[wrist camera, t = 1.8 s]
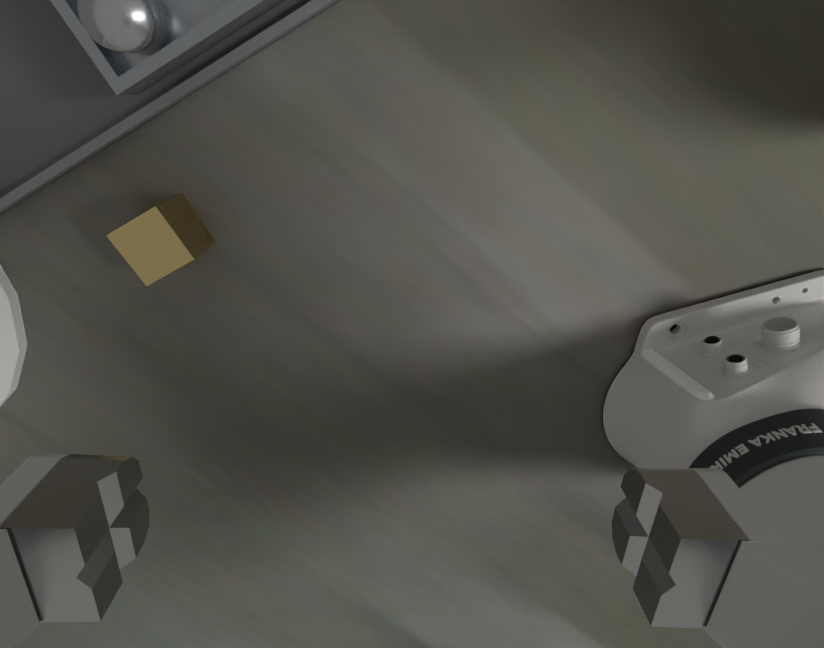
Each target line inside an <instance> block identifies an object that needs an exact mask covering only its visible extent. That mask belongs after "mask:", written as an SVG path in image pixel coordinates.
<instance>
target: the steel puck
mask: <svg viewBox="0 0 824 648" xmlns="http://www.w3.org/2000/svg"><path fill="white" fill-rule="evenodd" d="M78 13H79V17H80V20H81V22H82V24H83V26H84V28H85V30H86V31H87V33H88V34H89V35H90V36H91V37H92V39H94V40H95V41H96V42H97V43H98V44H100V45H101V46H103V47H105V48H108V49H111V50H115V51H122V52H129V53H135V54H151V53H154V52H156V51H158V50H159V49H160V48H161V47H162V46H163V45H164V43H165V41H166V39H167V36H168V29H169V26H168V18H167V15H166V12H165V10H164V8H163V6H162V4H161V3H160V2H159V0H78Z"/></svg>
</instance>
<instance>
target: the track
mask: <svg viewBox="0 0 824 648" xmlns="http://www.w3.org/2000/svg"><path fill="white" fill-rule="evenodd" d="M339 1H341V0H285V1H284V2H282V3H281V4H279V5H278V6H276V7H274V8H273V9H271V10H270V11H268V12H267V13H265V14H264V15H262V16H260V17H259V18H257V19H256V20H254V21H253V22H251V23H250V24H248V25H246V26H245V27H243V28H242V29H240V30H239V31H237V32H236V33H234V34H232V35H231V36H229V37H228V38H226V39H225V40H223V41H221V42H220V43H218V44H217V45H215V46H214V47H212V48H211V49H209V50H207V51H206V52H204V53H203V54H201V55H200V56H198V57H197V58H195V59H193V60H192V61H190V62H189V63H187V64H186V65H184V66H183V67H181V68H179V69H178V70H176V71H175V72H173V73H172V74H170V75H168V76H167V77H165V78H164V79H162V80H161V81H159V82H158V83H156V84H154V85H153V86H151V87H150V88H148V89H147V90H145V91H144V92H142V93H140V94H139V95H116V94H115V92H114V91H113V89H112V88H111V86H110V85H109V84H108V82H107V81H106V79H105V78H104V76H103V75H102V74H101V72H100V71H99V69H98V68H97V66H96V65H95V64H94V62H93V61H92V59H91V58H90V56H89V55H88V54H87V52H86V51H85V49H84V48H83V47H82V45H81V44H80V42H79V41H78V39H77V38H76V37H75V35H74V34H73V32H72V31H71V29H70V28H69V27H68V25H67V24H66V22H65V21H64V19H63V18H62V17H61V15H60V14H59V12H58V11H57V9H56V8H55V7H54V5H53V4H52V2H51V1H50V0H0V214H2V213H3V212H5V211H7V210H8V209H10V208H11V207H13V206H15V205H16V204H18V203H19V202H21V201H23V200H24V199H26V198H27V197H29V196H30V195H32V194H34V193H35V192H37V191H38V190H40V189H42V188H43V187H45V186H46V185H48V184H50V183H51V182H53V181H54V180H56V179H58V178H59V177H61V176H62V175H64V174H65V173H67V172H69V171H70V170H72V169H73V168H75V167H77V166H78V165H80V164H81V163H83V162H85V161H86V160H88V159H89V158H91V157H93V156H94V155H96V154H97V153H99V152H100V151H102V150H104V149H105V148H107V147H108V146H110V145H112V144H113V143H115V142H116V141H118V140H120V139H121V138H123V137H124V136H126V135H128V134H129V133H131V132H132V131H134V130H135V129H137V128H139V127H140V126H142V125H143V124H145V123H147V122H148V121H150V120H151V119H153V118H155V117H156V116H158V115H159V114H161V113H163V112H164V111H166V110H167V109H169V108H170V107H172V106H174V105H175V104H177V103H178V102H180V101H182V100H183V99H185V98H186V97H188V96H190V95H191V94H193V93H194V92H196V91H198V90H199V89H201V88H202V87H204V86H205V85H207V84H209V83H210V82H212V81H213V80H215V79H217V78H218V77H220V76H221V75H223V74H225V73H226V72H228V71H229V70H231V69H233V68H234V67H236V66H237V65H239V64H240V63H242V62H244V61H245V60H247V59H248V58H250V57H252V56H253V55H255V54H256V53H258V52H260V51H261V50H263V49H264V48H266V47H267V46H269V45H271V44H272V43H274V42H275V41H277V40H279V39H280V38H282V37H283V36H285V35H287V34H288V33H290V32H291V31H293V30H295V29H296V28H298V27H299V26H301V25H302V24H304V23H306V22H307V21H309V20H310V19H312V18H314V17H315V16H317V15H318V14H320V13H322V12H323V11H325V10H326V9H328V8H330V7H331V6H333V5H334V4H336V3H337V2H339Z"/></svg>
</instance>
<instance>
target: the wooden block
mask: <svg viewBox="0 0 824 648" xmlns="http://www.w3.org/2000/svg"><path fill="white" fill-rule="evenodd" d="M106 236H107V237H108V238H109V240H110V241H111V242H112V243H113V245H114V246H115V247H116V249H117V250H118V251H119V252H120V254H121V255H122V256H123V257H124V259H125V260H126V261H127V262H128V264H129V265H130V266H131V267H132V269H133V270H134V271H135V273H136V274H137V275H138V276H139V278H140V279H141V280H142V281H143V283H144V284H145V285H146V286H148V285H150V284H152V283H153V282H155V281H157V280H159V279H161V278H162V277H164V276H166V275H168V274H169V273H171V272H173V271H175V270H176V269H178V268H180V267H182V266H183V265H185V264H187V263H189V262H191V261H192V260H194V259H195V258H197V257H198V256H199V255H200V254H201V253H203V252H204V251H205V250H206V249H207V248H209V247H210V246H211V245H212V244H213V243H215V240H214V239H213V238H212V236H211V235H210V233H209V232H208V231H207V229H206V228H205V226H204V225H203V224H202V222H201V221H200V219H199V218H198V216H197V215H196V214H195V212H194V211H193V209H192V208H191V207H190V205H189V204H188V202H187V201H186V199H185V198H184V197H183V195H182V194H180V195H178V196H176V197H173V198H171V199H169V200H167V201H165V202H163V203H161V204H159V205H157V206H155V207H153V208H151V209H150V210H148V211H146V212H145V213H143V214H141V215H140V216H138V217H136V218H135V219H133V220H131V221H130V222H128V223H126V224H125V225H123V226H121V227H120V228H118V229H116V230H114V231H113V232H111V233H109V234H108V235H106Z"/></svg>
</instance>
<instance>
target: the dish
mask: <svg viewBox="0 0 824 648" xmlns="http://www.w3.org/2000/svg"><path fill="white" fill-rule="evenodd" d="M27 346H28V345H27V340H26V335H25V329H24V324H23V319H22V314H21V309H20V303H19V298H18V294H17V292H16V291H15V289H14V287H13V285H12V284H11V282H10V280H9V279H8V277H7V275H6V273H5V272H4V270H3V268H2V266H1V265H0V406H1V405H2V404H3V403H4V402H5V401H6V400H7V399H8V397H9V396H10V395H11V394H12V393H13V392H14V391H15V390H16V389H17V386H18V382H19V378H20V374H21V370H22V366H23V362H24V358H25V354H26V350H27Z"/></svg>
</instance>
